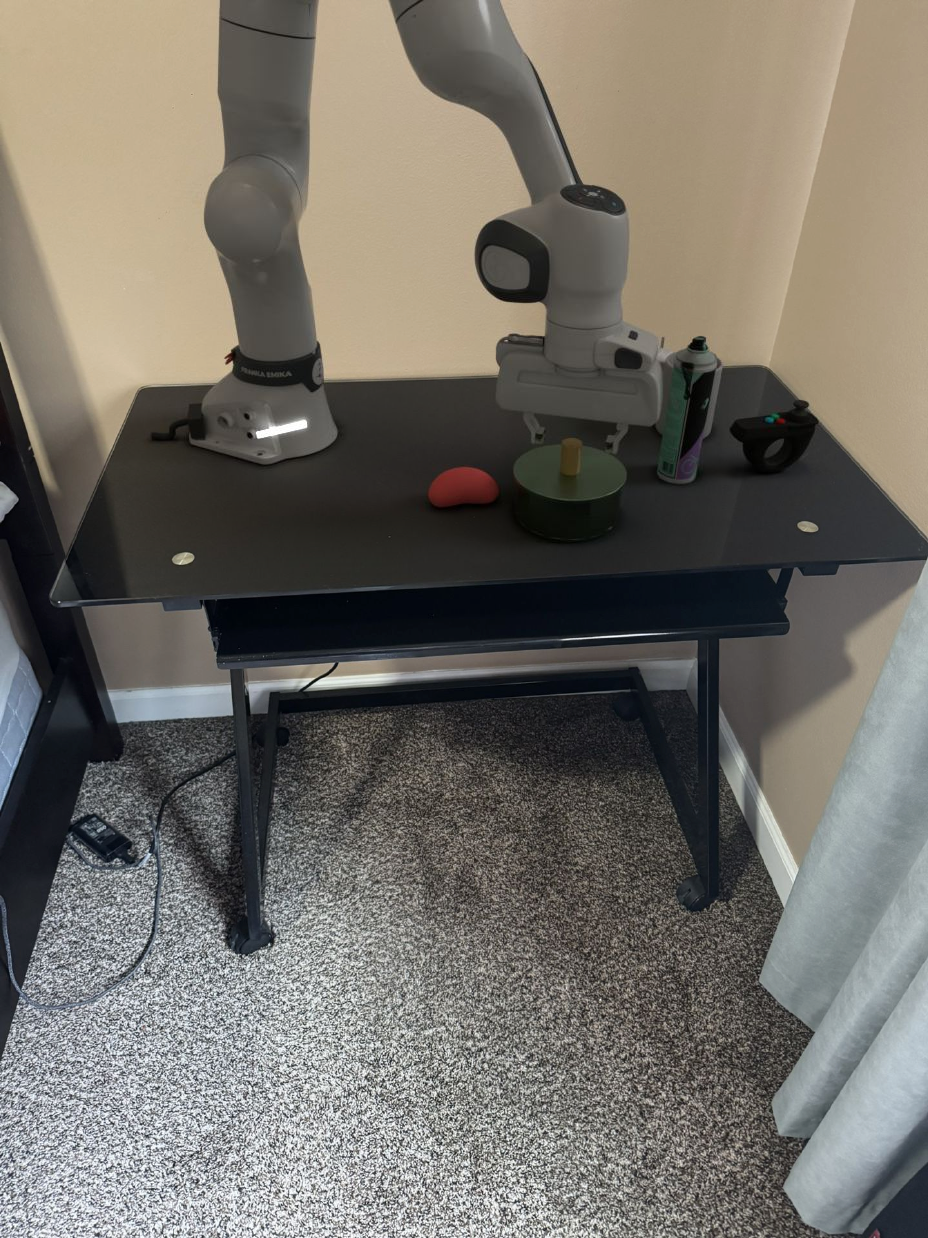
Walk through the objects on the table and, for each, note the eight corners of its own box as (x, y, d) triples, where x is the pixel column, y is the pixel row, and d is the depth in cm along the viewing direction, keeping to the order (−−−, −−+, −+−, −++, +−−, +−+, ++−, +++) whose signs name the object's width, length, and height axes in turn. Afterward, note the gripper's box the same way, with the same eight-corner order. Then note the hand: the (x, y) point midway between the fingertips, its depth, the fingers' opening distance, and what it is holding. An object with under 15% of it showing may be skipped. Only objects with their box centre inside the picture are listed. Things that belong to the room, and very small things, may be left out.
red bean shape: (438, 496, 124) (421, 469, 118) (498, 476, 121) (483, 448, 116) (442, 525, 121) (424, 499, 116) (503, 505, 119) (488, 478, 113)
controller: (810, 471, 126) (828, 407, 120) (731, 481, 124) (745, 416, 118) (794, 457, 129) (811, 394, 123) (717, 467, 127) (730, 403, 121)
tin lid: (500, 498, 110) (501, 461, 107) (527, 445, 121) (529, 410, 118) (616, 516, 107) (621, 478, 104) (633, 460, 118) (638, 424, 114)
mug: (650, 416, 140) (660, 349, 133) (703, 416, 140) (716, 349, 133) (664, 452, 131) (675, 383, 124) (721, 452, 131) (736, 382, 124)
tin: (504, 533, 114) (505, 492, 110) (528, 482, 124) (530, 443, 120) (608, 549, 111) (613, 509, 107) (624, 496, 121) (629, 457, 117)
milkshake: (668, 396, 146) (677, 337, 139) (667, 410, 142) (676, 350, 135) (641, 394, 147) (649, 335, 140) (638, 407, 142) (646, 347, 136)
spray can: (695, 485, 123) (722, 347, 111) (656, 481, 124) (677, 343, 111) (695, 467, 127) (721, 331, 115) (657, 463, 128) (678, 328, 116)
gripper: (489, 341, 102) (488, 448, 111) (666, 358, 98) (651, 468, 107) (502, 322, 107) (500, 426, 116) (672, 338, 103) (657, 445, 111)
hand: (574, 446), depth 111 cm, fingers open, 8 cm apart
